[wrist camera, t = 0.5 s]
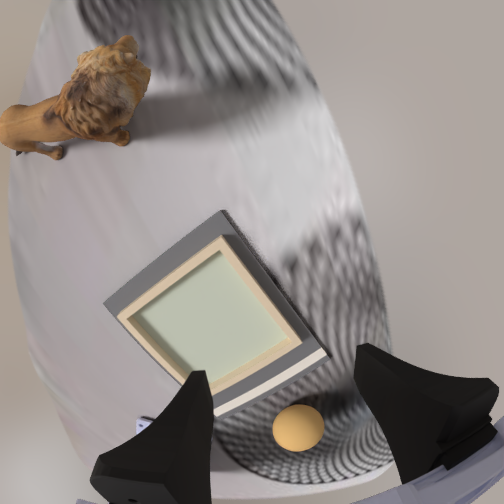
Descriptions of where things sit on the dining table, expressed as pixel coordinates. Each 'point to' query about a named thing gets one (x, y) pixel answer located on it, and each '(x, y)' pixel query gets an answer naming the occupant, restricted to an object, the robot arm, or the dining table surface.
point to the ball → (298, 427)
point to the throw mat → (217, 319)
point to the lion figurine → (83, 103)
